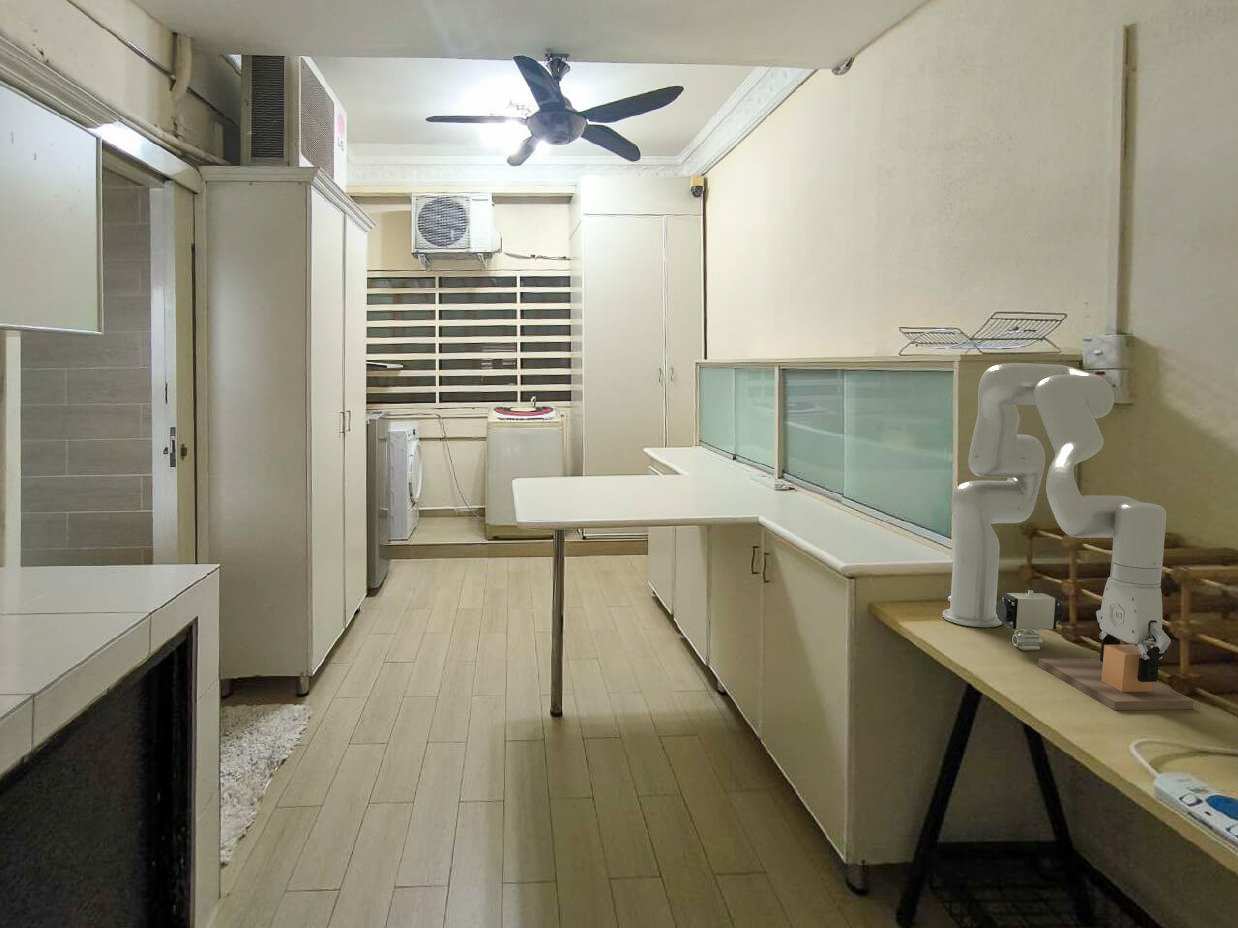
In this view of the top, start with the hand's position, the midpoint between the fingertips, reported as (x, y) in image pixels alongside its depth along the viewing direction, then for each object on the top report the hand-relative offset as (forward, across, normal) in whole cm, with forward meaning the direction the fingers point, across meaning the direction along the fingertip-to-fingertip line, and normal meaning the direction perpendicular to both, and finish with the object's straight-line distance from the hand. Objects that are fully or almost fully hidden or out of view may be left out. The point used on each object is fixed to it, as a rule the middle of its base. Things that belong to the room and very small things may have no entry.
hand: (1127, 671), depth 152 cm
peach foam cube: (+3, 0, 0) cm, 3 cm away
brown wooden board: (+4, -4, 0) cm, 6 cm away
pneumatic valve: (+4, -26, -3) cm, 27 cm away
